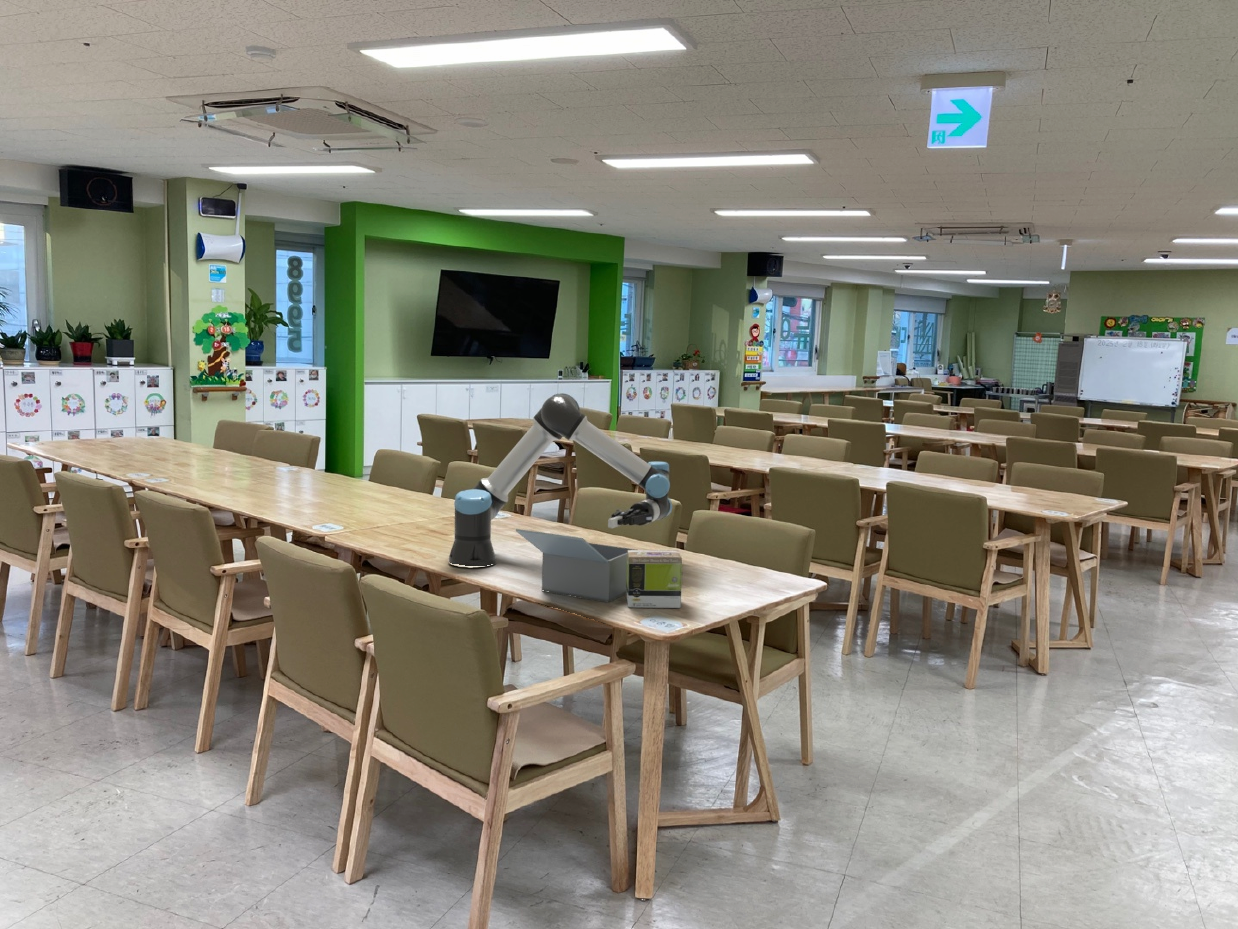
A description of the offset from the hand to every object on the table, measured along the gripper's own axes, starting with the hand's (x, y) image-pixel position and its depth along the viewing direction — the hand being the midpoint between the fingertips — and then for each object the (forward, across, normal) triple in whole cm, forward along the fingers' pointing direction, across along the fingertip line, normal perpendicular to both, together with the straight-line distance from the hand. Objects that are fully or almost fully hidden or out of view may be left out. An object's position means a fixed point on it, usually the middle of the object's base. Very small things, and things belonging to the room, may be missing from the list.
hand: (610, 523), depth 289 cm
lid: (+29, 0, -2) cm, 29 cm away
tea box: (+15, -22, -18) cm, 32 cm away
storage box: (+12, 0, -18) cm, 22 cm away
